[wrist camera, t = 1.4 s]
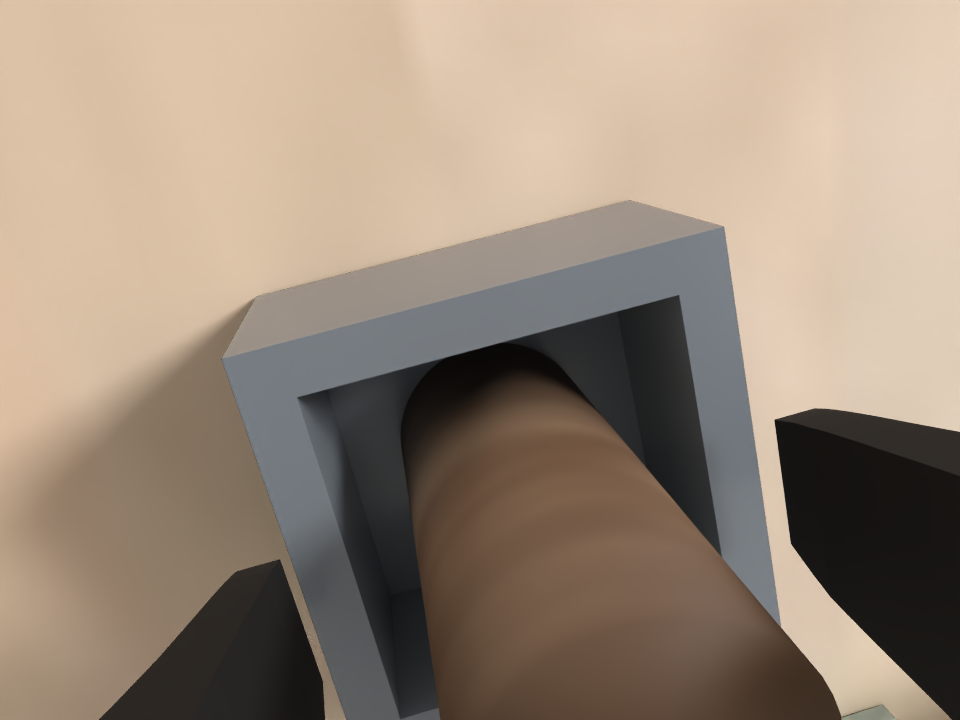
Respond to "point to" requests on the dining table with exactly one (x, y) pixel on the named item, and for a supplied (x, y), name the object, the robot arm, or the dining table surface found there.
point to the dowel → (574, 565)
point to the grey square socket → (465, 327)
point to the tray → (871, 714)
